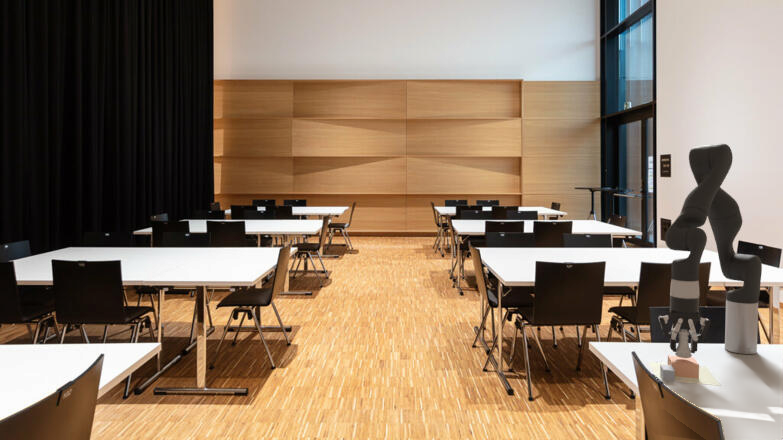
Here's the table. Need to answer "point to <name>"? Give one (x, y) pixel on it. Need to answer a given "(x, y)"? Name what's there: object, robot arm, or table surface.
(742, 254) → the robot arm
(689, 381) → the plate
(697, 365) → the terracotta brick
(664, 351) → the table surface
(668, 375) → the slate brick
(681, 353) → the rook chess piece
